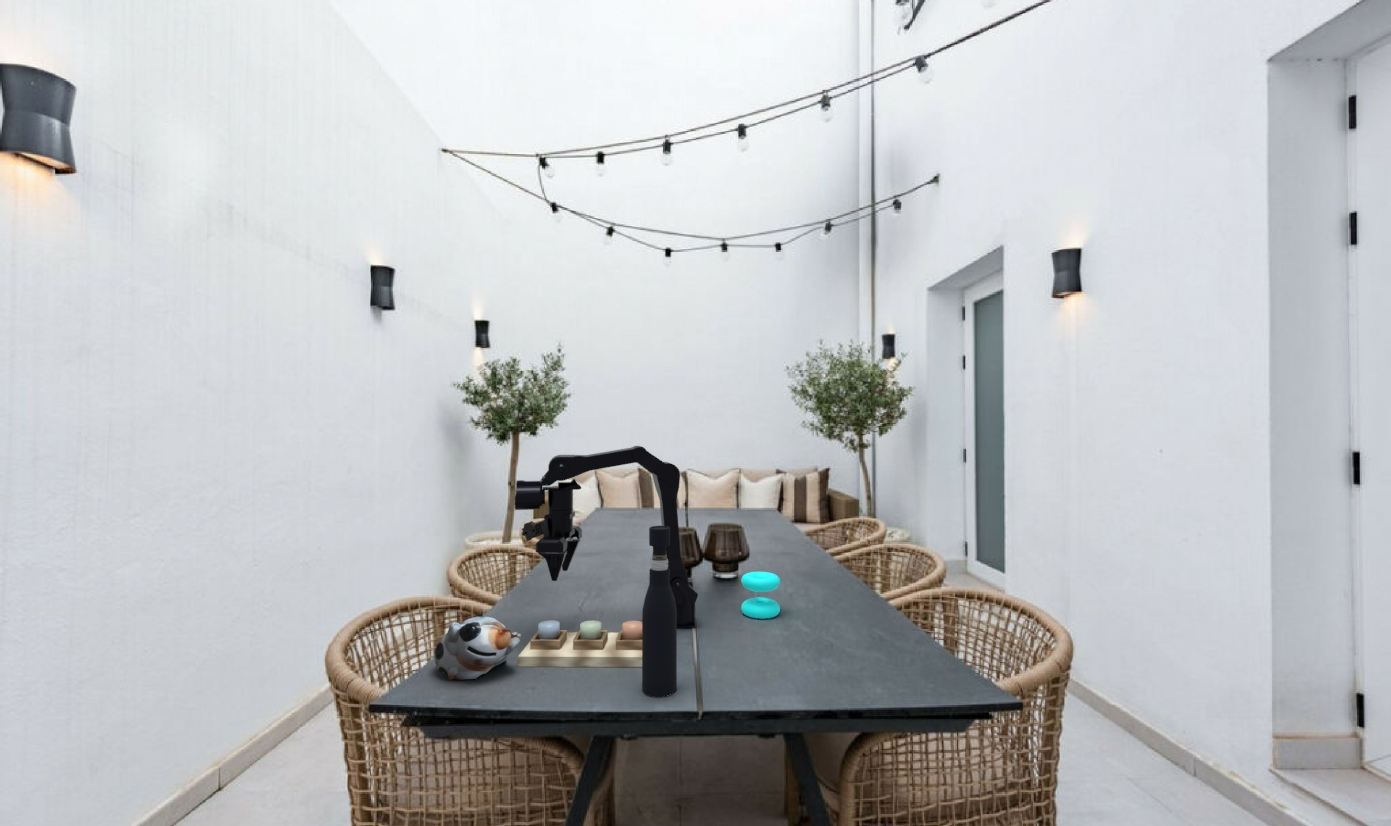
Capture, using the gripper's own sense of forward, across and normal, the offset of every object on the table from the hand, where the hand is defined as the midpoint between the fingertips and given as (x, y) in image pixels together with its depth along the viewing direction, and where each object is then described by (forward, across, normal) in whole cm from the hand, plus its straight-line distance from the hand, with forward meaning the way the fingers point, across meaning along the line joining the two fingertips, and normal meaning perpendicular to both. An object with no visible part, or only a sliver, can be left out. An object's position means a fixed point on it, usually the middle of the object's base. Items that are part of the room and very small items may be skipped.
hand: (559, 575), depth 140 cm
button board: (+14, +11, +10) cm, 20 cm away
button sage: (+10, +11, +10) cm, 18 cm away
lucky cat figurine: (+14, +20, -11) cm, 27 cm away
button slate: (+10, +11, +1) cm, 15 cm away
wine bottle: (+14, +28, +26) cm, 41 cm away
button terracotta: (+10, +11, +19) cm, 24 cm away
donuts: (+14, -17, +48) cm, 53 cm away
